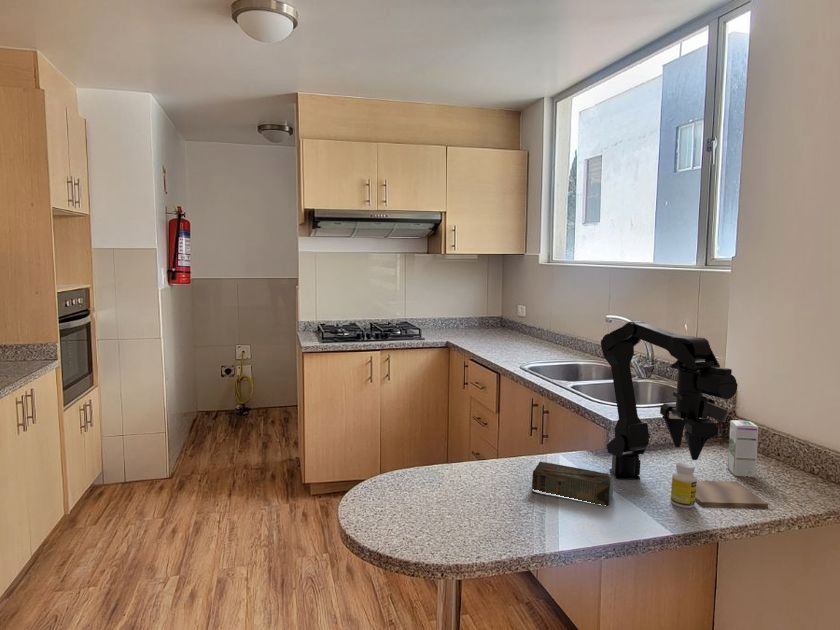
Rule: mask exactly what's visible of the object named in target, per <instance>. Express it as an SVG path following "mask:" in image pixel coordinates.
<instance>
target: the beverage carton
mask: <svg viewBox="0 0 840 630" xmlns="http://www.w3.org/2000/svg"><path fill="white" fill-rule="evenodd" d="M614 479H615V477H614V475H613V474H612V473H607V472H600V471H595V470H590V469H585V468H580V467H574V466H567V465H563V464H556V463H553V462H545V461H539V462H538V464H537V465H536V467H535V468H534V470H533V471H532V482H531V490H532V489H534V490H539V491H542V492H546V493H551V494H556V495H560V496H564V497H569V498H574V499H578V500H582V501H587V502H591V503H595V504H601V505H606V506H609V507H610V506H611V501H612V498H613V494H614ZM606 506H605V507H606Z"/></svg>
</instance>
